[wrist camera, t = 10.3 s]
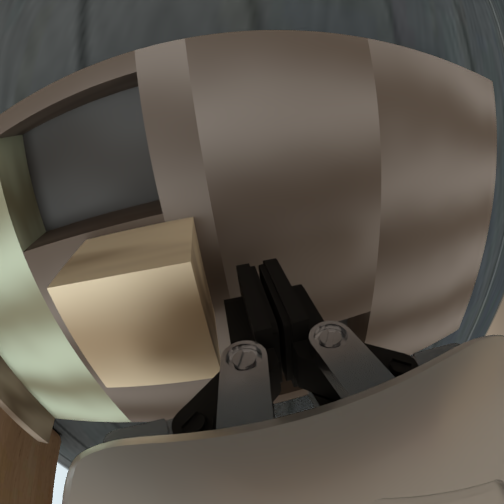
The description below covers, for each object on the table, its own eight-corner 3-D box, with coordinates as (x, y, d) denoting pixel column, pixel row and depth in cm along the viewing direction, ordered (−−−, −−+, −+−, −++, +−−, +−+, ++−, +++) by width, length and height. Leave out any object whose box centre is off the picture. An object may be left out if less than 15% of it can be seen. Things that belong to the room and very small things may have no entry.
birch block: (214, 313, 13) (222, 376, 10) (122, 327, 12) (106, 387, 9) (193, 216, 11) (190, 261, 7) (85, 239, 10) (46, 288, 7)
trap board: (440, 312, 22) (475, 347, 17) (51, 393, 18) (38, 441, 13) (464, 80, 12) (523, 84, 7) (-55, 177, 8) (-106, 203, 3)
